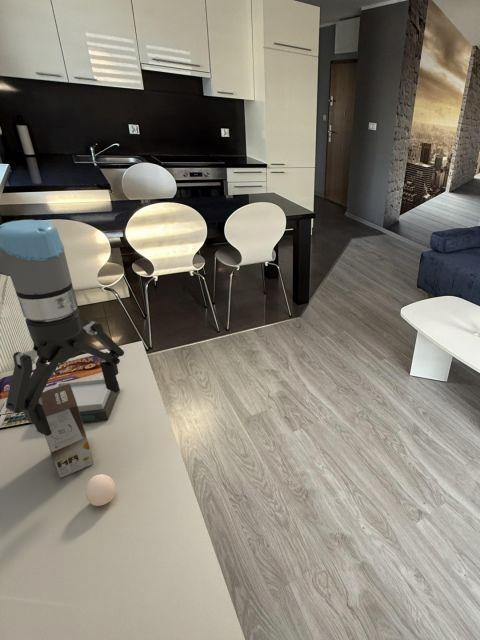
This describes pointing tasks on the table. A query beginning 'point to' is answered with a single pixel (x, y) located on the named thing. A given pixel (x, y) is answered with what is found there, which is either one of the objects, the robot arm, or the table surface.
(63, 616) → the table surface
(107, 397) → the kitchen scale
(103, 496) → the egg
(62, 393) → the coffee box
